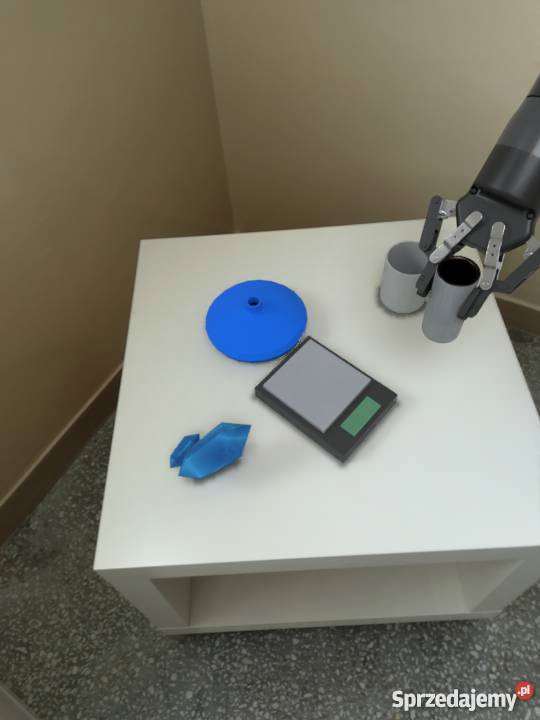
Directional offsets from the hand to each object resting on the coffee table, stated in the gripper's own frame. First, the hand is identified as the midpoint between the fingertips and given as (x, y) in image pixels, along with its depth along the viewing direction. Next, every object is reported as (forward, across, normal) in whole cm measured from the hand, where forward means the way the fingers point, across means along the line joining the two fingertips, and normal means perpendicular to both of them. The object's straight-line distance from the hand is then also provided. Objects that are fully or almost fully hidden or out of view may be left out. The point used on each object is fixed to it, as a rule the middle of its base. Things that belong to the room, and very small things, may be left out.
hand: (441, 306), depth 59 cm
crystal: (+32, -14, -4) cm, 36 cm away
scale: (+20, -9, +8) cm, 24 cm away
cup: (+4, -10, +24) cm, 27 cm away
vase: (+18, -25, +10) cm, 33 cm away
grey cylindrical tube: (+3, 0, +6) cm, 7 cm away
